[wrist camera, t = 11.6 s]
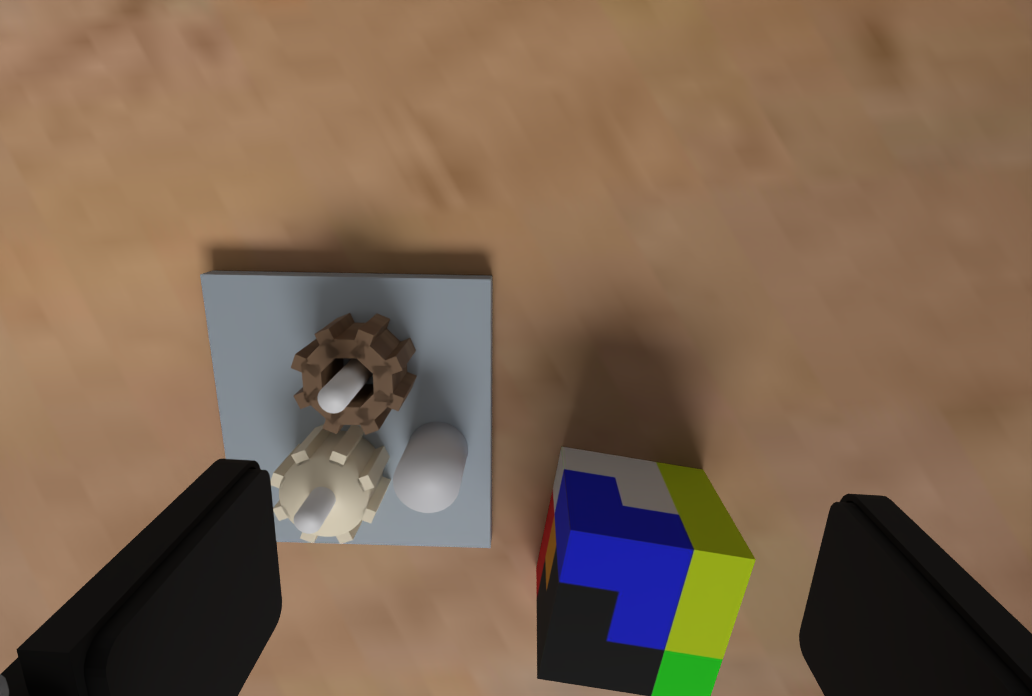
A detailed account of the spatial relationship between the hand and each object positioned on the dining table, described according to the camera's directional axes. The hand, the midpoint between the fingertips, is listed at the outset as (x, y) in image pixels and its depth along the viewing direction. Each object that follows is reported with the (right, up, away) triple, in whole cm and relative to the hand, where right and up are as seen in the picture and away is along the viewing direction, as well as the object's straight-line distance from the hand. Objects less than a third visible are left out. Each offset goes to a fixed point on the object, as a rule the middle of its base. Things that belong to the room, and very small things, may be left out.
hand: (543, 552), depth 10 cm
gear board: (-11, -1, +30) cm, 32 cm away
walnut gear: (-10, +2, +28) cm, 29 cm away
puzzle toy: (+7, -9, +32) cm, 34 cm away
